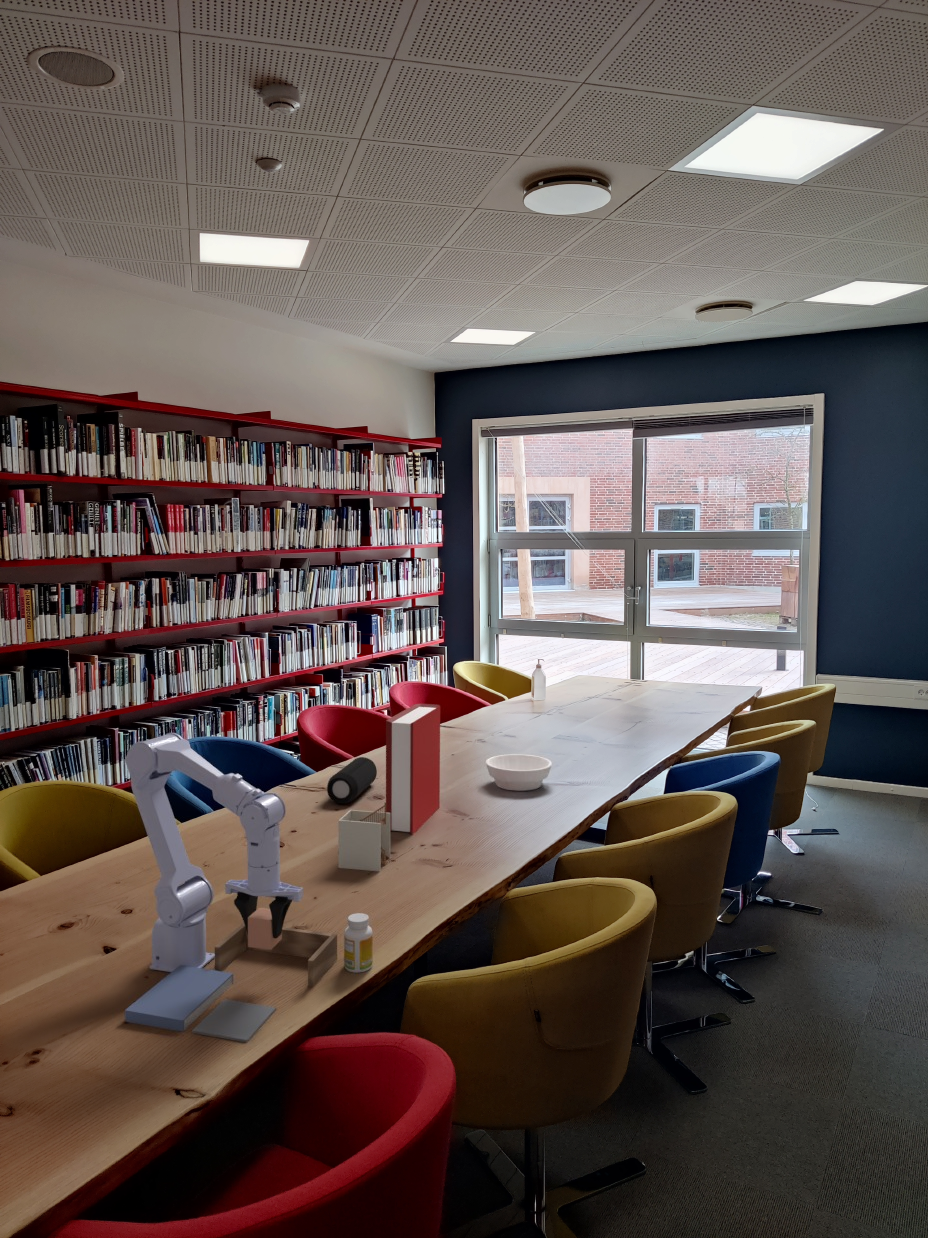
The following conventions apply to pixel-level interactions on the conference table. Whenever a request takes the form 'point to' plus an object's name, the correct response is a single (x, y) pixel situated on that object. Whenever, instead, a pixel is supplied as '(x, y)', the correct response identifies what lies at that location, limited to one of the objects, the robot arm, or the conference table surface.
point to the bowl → (518, 771)
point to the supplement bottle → (358, 944)
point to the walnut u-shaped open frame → (284, 949)
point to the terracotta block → (261, 930)
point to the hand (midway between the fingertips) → (264, 934)
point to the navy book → (179, 998)
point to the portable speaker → (351, 780)
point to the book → (413, 766)
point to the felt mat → (234, 1020)
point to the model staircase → (364, 840)
